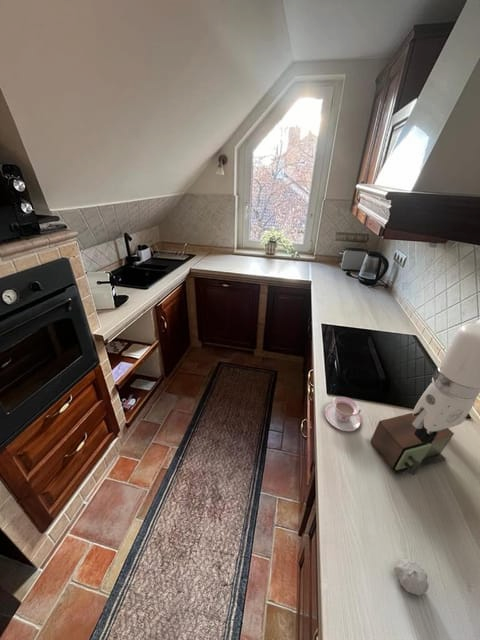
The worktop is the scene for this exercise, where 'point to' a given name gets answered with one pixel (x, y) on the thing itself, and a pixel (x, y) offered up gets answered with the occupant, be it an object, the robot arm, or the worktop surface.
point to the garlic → (411, 576)
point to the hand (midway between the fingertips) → (422, 438)
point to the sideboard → (406, 441)
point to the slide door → (413, 458)
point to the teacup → (343, 414)
